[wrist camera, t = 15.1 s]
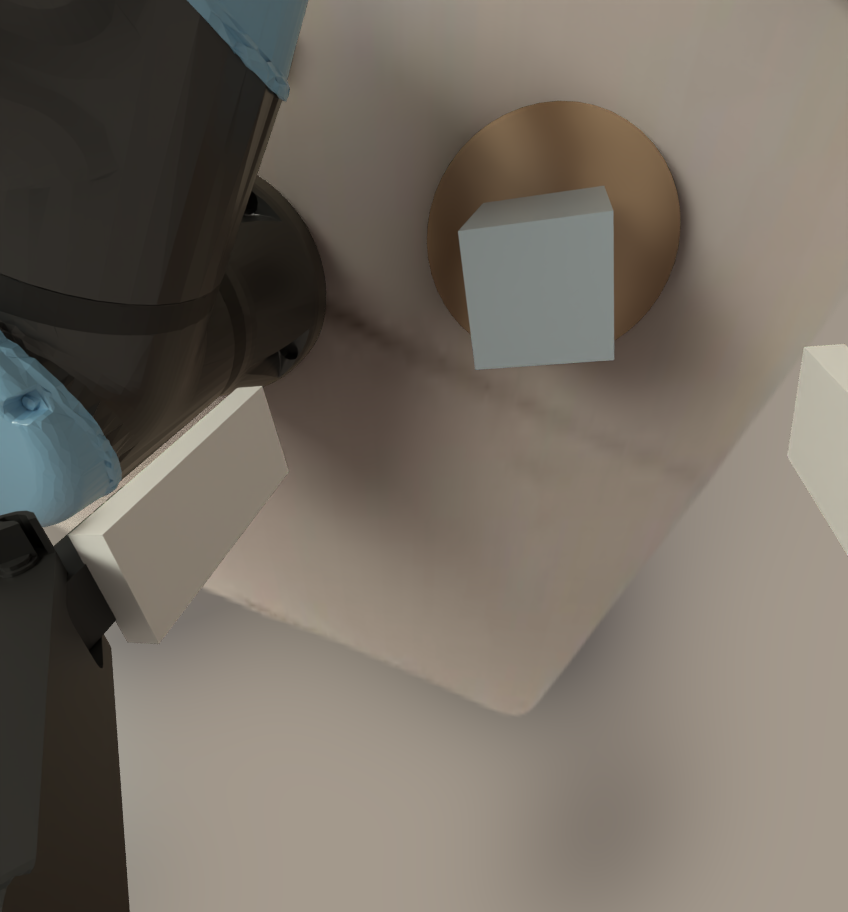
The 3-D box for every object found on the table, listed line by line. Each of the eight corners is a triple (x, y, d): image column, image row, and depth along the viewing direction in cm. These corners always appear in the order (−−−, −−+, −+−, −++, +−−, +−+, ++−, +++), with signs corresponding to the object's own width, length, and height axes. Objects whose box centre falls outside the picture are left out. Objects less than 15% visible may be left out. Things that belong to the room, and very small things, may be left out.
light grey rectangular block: (494, 316, 34) (475, 369, 27) (482, 203, 31) (458, 231, 24) (605, 305, 32) (614, 360, 25) (604, 185, 29) (613, 210, 23)
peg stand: (448, 360, 40) (409, 442, 31) (414, 126, 34) (350, 136, 24) (671, 343, 37) (706, 430, 27) (682, 76, 30) (734, 65, 20)
